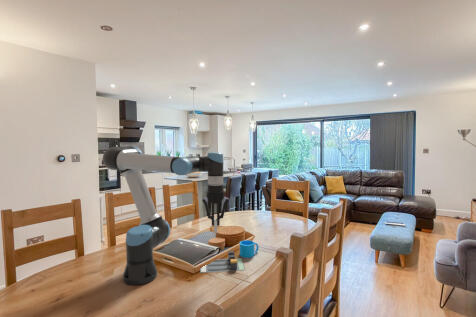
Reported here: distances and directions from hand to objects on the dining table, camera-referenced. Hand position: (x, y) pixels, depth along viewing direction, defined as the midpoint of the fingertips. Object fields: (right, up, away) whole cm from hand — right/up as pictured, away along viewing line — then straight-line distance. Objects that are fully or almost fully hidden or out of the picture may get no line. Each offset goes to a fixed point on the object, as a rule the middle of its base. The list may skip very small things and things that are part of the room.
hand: (215, 232), depth 129 cm
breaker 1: (+7, -18, +10) cm, 22 cm away
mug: (+18, -19, +19) cm, 32 cm away
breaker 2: (+8, -18, +6) cm, 20 cm away
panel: (+3, -20, +5) cm, 20 cm away
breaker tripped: (+9, -18, +1) cm, 20 cm away
